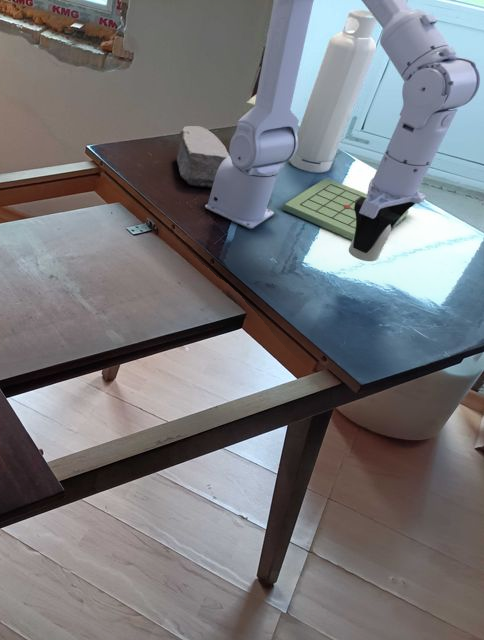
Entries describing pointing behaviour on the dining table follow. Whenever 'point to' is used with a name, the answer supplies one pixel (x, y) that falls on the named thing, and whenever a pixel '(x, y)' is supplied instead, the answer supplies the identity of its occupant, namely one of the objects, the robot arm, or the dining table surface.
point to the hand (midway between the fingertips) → (367, 244)
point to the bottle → (335, 92)
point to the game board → (329, 207)
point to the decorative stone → (199, 156)
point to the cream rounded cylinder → (374, 251)
